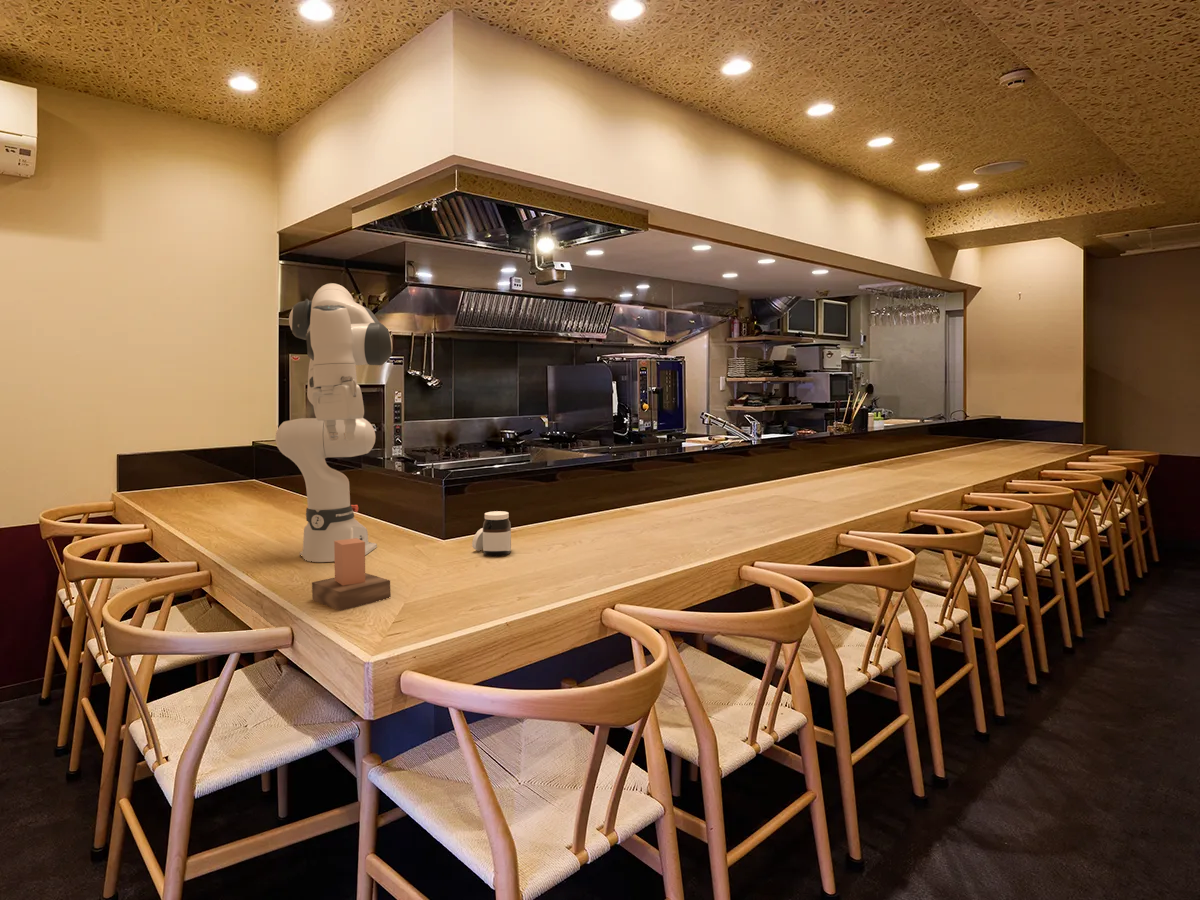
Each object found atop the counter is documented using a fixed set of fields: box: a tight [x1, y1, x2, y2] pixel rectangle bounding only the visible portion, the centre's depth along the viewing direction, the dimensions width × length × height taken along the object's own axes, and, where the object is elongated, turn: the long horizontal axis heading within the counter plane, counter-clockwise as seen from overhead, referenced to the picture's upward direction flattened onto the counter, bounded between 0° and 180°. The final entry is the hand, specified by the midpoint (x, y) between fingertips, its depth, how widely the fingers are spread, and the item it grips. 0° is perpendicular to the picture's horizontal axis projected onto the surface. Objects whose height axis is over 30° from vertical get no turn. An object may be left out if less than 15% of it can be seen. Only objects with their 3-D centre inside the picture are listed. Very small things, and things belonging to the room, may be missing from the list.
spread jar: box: [471, 510, 512, 557], centre depth 198 cm, size 12×11×12 cm
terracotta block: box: [334, 538, 366, 586], centre depth 153 cm, size 5×5×9 cm
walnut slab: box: [311, 572, 392, 612], centre depth 154 cm, size 12×12×4 cm
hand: (341, 440), depth 154 cm, fingers open, 8 cm apart
